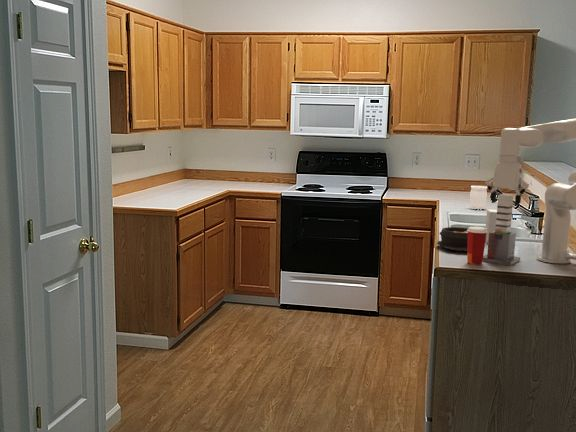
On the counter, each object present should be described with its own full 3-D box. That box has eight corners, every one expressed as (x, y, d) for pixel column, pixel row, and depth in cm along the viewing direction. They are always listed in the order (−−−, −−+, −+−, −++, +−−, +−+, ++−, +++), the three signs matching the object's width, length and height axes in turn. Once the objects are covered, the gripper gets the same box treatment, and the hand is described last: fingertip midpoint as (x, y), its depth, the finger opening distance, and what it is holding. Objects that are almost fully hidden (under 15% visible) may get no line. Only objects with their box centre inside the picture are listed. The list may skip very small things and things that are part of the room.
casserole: (482, 256, 260) (484, 236, 259) (436, 252, 264) (437, 233, 263) (479, 245, 284) (480, 226, 283) (436, 242, 288) (438, 224, 287)
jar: (475, 207, 412) (476, 185, 409) (489, 209, 404) (490, 186, 401) (465, 208, 405) (467, 185, 403) (479, 210, 397) (481, 187, 395)
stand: (520, 261, 253) (522, 232, 251) (510, 265, 243) (513, 236, 242) (490, 256, 260) (493, 228, 258) (480, 260, 251) (482, 232, 249)
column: (509, 240, 251) (513, 195, 248) (505, 241, 247) (509, 196, 245) (498, 238, 254) (502, 194, 251) (494, 239, 250) (498, 195, 247)
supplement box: (507, 245, 286) (510, 212, 283) (487, 244, 287) (489, 211, 285) (503, 241, 294) (506, 210, 292) (484, 240, 296) (486, 208, 294)
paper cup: (488, 263, 247) (491, 228, 244) (479, 266, 241) (482, 230, 239) (469, 260, 252) (472, 225, 250) (460, 262, 246) (463, 227, 244)
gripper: (534, 161, 243) (530, 205, 246) (490, 158, 254) (486, 200, 256) (528, 161, 238) (524, 207, 240) (483, 158, 248) (480, 202, 250)
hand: (505, 203), depth 248 cm, fingers open, 8 cm apart
